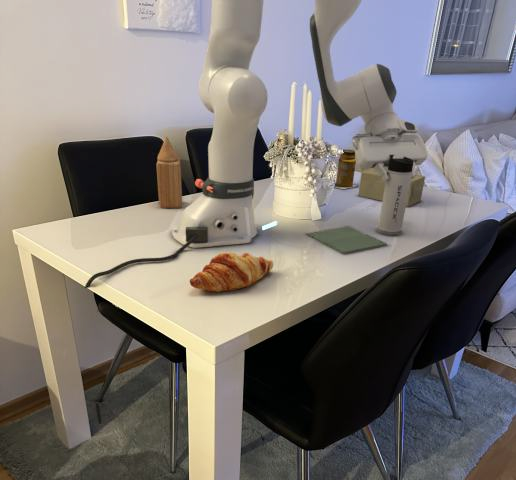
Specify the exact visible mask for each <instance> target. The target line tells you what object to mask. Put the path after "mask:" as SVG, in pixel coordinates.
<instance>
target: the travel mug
mask: <svg viewBox="0 0 516 480" xmlns="http://www.w3.org/2000/svg"><path fill="white" fill-rule="evenodd" d="M389 156H390V160H389V166H388V172H389V173H390V176H391V179H390V180H389V181H386V183H385V189H384V195H383V201H381V209H380V215H379V221H378V227H377V232H378V233H379V234H381V235H384V236H390V237H391V236H392V237H393V236H394V237H397V236H399V235H401V234H402V228H403V224H404V219H405V213H406V203H407V197H408V192H409V187H410V181H411V176H412V174H411V173H412V168H413V162H414V161H413V160H412V159H410V158H407V157H403V159H393V156H394V155H389ZM391 157H392V158H391Z"/></svg>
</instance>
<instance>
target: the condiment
mask: <svg viewBox="0 0 516 480" xmlns="http://www.w3.org/2000/svg"><path fill="white" fill-rule="evenodd" d="M342 150H343V152H344V153H343V154H341V153H340V154H339V159H338V162H337V170H336V171H337V172H336V179H335V180H336V181H335V182H334V183H335V186H334V187H333V188H336V189H341V190H346V189H350V188H355V187H358V185H357V184H354V178H355V171H356V165H357V161H356V156H355V149H354V150H353V149H342Z"/></svg>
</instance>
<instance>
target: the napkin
mask: <svg viewBox="0 0 516 480" xmlns="http://www.w3.org/2000/svg"><path fill="white" fill-rule="evenodd" d="M306 235H307V236H309V237H311V238H313V239H315V240H316V241H318V242H321V243H322V244H324V245H326V246H328V247H330V248H332V249H333V250H335V251H336V252H337V251H338V252H339V253H341V254H343V255H347V254H352V253H353V254H354V253H357V252H362V251H367V250H372V249H376V248H383V247H387V246H388V243H387V242H385V241H383V240H380V239H378V238H376V237H374V236H372V235H369V234H368V233H363V232H361V231H359V230H357V229H354V228H352V227H350V226H341V227H336V228H330V229H325V230H318V231H314V232H313V231H312V232H307V233H306Z"/></svg>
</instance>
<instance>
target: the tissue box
mask: <svg viewBox="0 0 516 480" xmlns="http://www.w3.org/2000/svg"><path fill="white" fill-rule="evenodd" d="M383 168H384V169H385V171H386V172H388V167H383ZM425 180H426V176H425V175H420V174H415V178H414V179H412V180H411V181H410V187H409V192H408V197H407V203H406V207H407V208H409V207H411V206H413V205H415V204H417V203H419V202H421V200H422V194H423V191H424V186H425V185H424V184H425ZM385 183H386V182H383V180H382V177H381V176H380V175H379V174H378V173H377V172H376V171H375V168H368V169H364V170H362V171H361V172H360V180H359V186H358V197H360V198H361V197H362V198H366V199H370V200H374V201H379V202H383V195H384V189H385Z"/></svg>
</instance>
